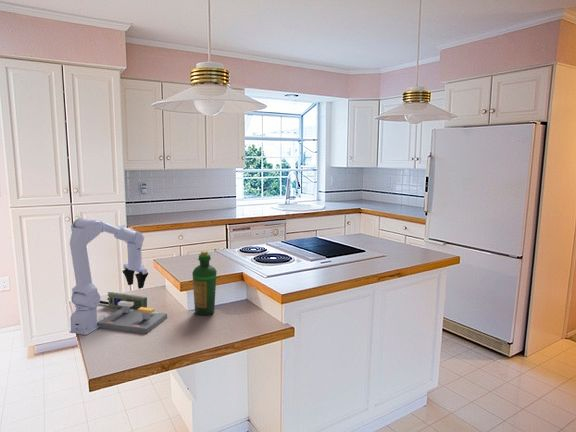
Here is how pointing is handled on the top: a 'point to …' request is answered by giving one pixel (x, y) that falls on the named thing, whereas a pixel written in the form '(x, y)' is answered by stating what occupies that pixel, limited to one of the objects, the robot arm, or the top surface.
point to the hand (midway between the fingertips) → (135, 286)
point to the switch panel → (132, 321)
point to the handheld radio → (118, 297)
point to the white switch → (125, 306)
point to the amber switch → (145, 312)
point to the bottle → (204, 285)
